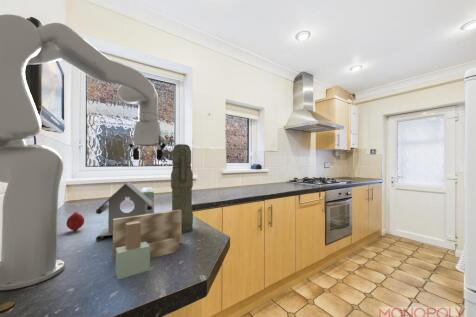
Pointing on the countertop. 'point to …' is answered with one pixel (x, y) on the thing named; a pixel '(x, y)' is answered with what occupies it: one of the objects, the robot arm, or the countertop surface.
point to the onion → (75, 221)
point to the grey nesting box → (114, 206)
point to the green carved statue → (182, 184)
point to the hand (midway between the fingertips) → (147, 159)
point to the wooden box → (152, 232)
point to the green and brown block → (132, 253)
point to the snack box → (149, 194)
